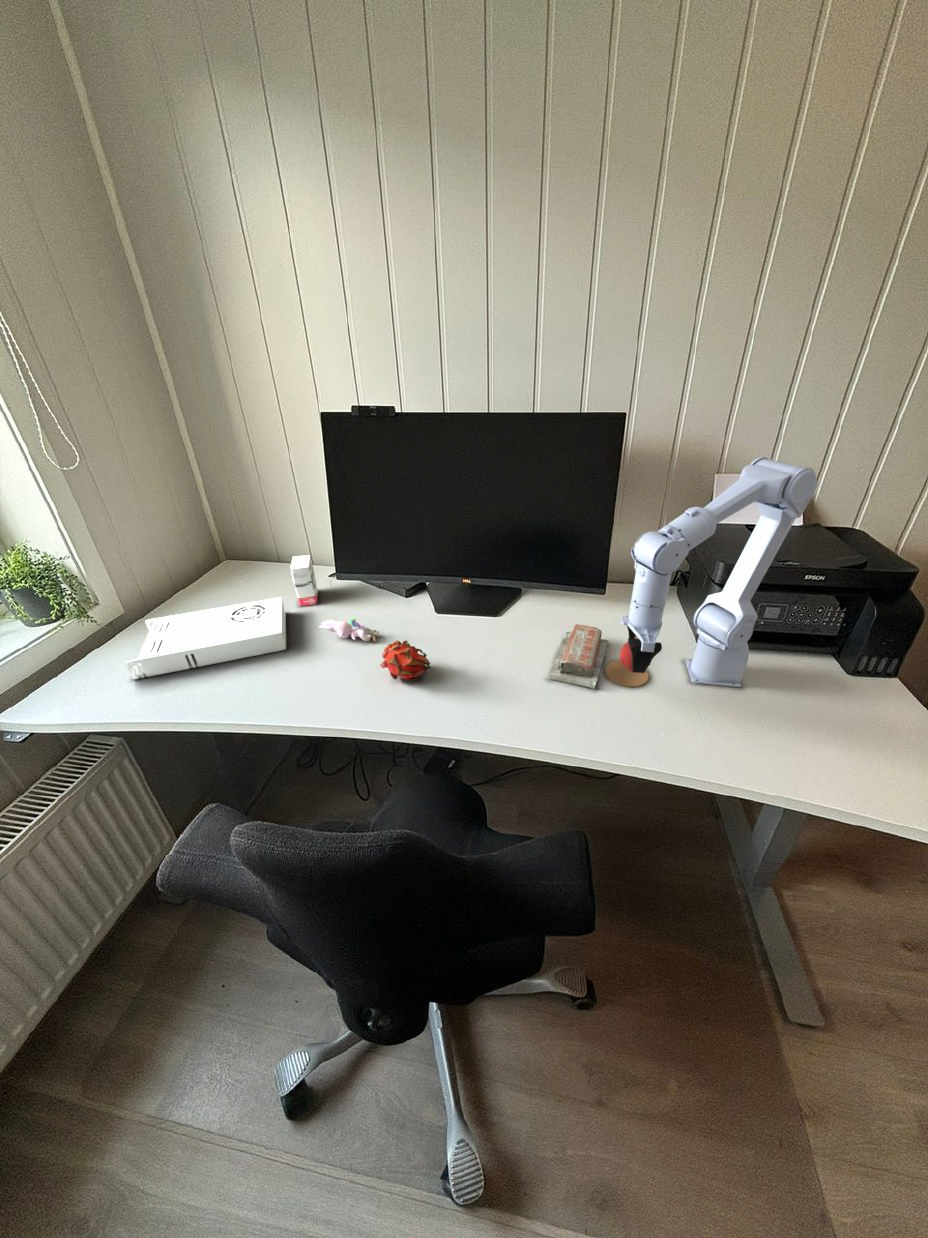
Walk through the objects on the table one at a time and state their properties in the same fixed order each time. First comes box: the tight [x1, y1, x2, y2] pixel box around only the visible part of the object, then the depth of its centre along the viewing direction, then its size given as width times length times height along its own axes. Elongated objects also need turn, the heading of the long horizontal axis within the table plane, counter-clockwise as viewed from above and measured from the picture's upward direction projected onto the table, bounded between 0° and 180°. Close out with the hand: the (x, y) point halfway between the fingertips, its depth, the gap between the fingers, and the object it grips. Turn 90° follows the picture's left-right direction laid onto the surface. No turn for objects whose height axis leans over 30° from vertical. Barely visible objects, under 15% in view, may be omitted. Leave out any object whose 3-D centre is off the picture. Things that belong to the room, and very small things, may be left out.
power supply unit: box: [125, 596, 287, 680], centre depth 118 cm, size 19×33×5 cm, turn 108°
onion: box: [619, 637, 653, 673], centre depth 91 cm, size 6×6×8 cm
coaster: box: [604, 659, 650, 688], centre depth 104 cm, size 9×9×1 cm
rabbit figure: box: [318, 618, 380, 642], centre depth 118 cm, size 6×6×15 cm
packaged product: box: [548, 623, 609, 690], centre depth 107 cm, size 18×5×10 cm
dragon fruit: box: [379, 640, 432, 682], centre depth 104 cm, size 8×8×12 cm
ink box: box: [290, 555, 319, 607], centre depth 135 cm, size 8×5×12 cm, turn 13°
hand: (636, 661), depth 92 cm, fingers closed on onion, 6 cm apart
